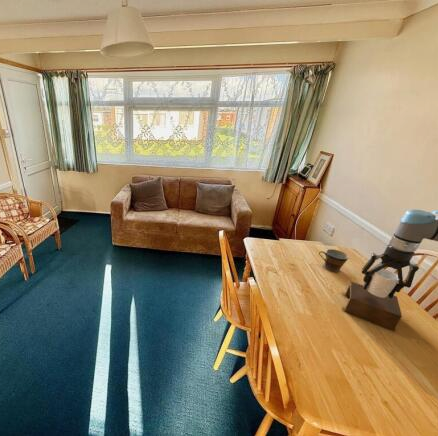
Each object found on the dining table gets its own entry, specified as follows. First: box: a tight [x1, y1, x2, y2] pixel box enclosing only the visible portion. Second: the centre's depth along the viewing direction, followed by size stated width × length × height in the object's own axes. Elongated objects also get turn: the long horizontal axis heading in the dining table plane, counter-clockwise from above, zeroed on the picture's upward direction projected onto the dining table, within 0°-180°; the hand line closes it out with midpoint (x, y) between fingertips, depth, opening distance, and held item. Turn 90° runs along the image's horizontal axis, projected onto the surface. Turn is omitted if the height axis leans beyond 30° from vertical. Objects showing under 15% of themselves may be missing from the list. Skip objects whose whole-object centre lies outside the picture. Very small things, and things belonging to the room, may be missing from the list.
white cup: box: [367, 268, 400, 298], centre depth 98 cm, size 8×8×10 cm
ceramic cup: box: [318, 248, 349, 273], centre depth 131 cm, size 13×10×10 cm
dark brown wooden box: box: [343, 281, 403, 331], centre depth 103 cm, size 16×14×8 cm
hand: (376, 291), depth 100 cm, fingers closed on white cup, 8 cm apart
